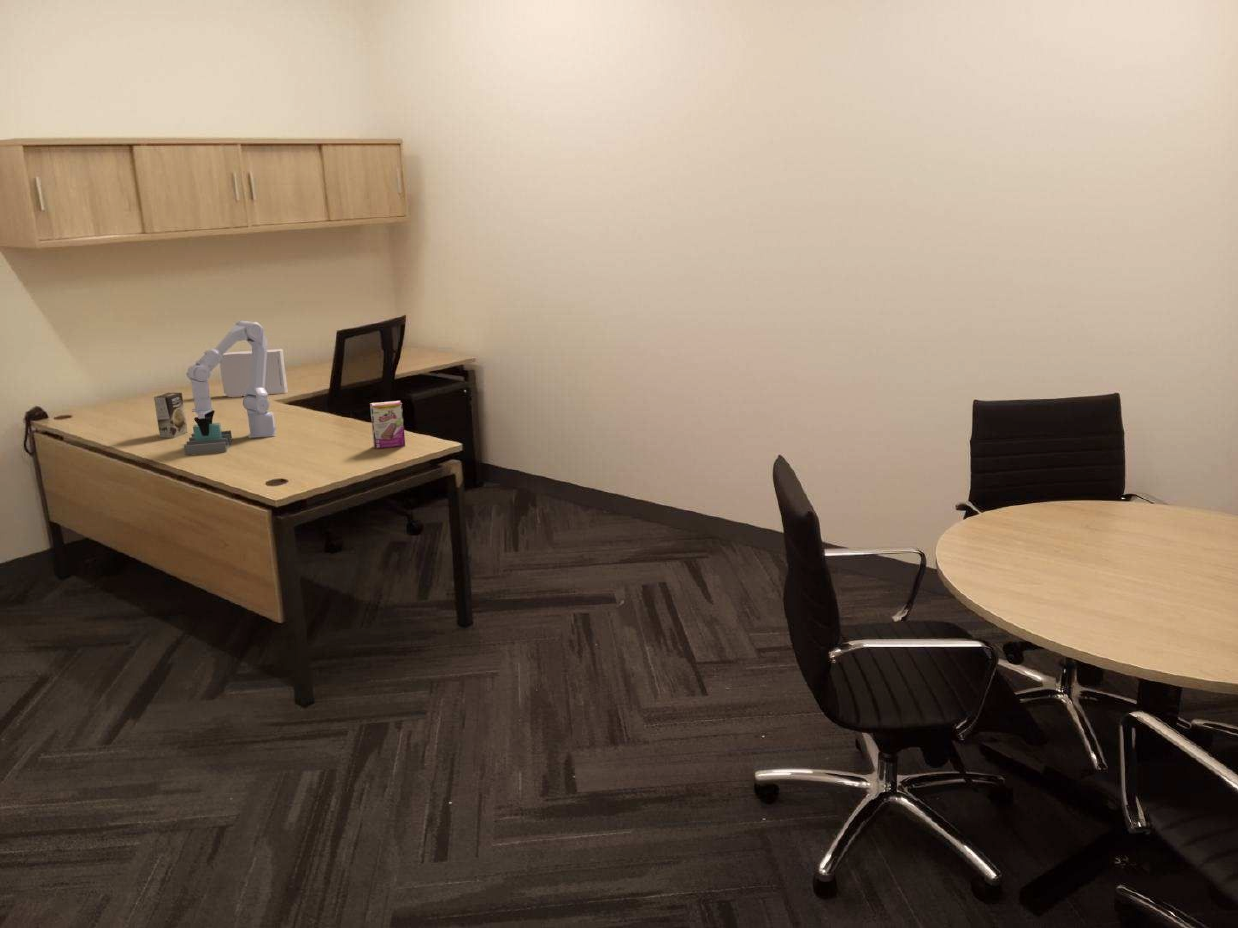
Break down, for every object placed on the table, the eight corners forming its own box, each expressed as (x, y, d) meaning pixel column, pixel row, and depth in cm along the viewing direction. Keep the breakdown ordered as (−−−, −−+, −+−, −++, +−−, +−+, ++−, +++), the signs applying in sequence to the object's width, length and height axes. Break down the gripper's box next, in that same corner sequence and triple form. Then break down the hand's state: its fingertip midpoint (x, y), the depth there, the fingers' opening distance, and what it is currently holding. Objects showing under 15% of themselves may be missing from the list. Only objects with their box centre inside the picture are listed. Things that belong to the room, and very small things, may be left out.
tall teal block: (223, 442, 362) (220, 422, 360) (221, 444, 359) (219, 425, 356) (197, 444, 360) (194, 424, 357) (195, 446, 356) (192, 427, 354)
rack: (232, 439, 370) (230, 430, 369) (226, 452, 352) (224, 442, 351) (193, 442, 366) (191, 433, 365) (185, 455, 349) (183, 446, 348)
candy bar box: (375, 449, 351) (370, 405, 346) (373, 446, 356) (369, 403, 351) (406, 446, 355) (402, 402, 350) (404, 443, 359) (400, 400, 355)
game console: (287, 393, 446) (282, 350, 440) (224, 398, 439) (218, 355, 433) (287, 391, 451) (282, 348, 445) (225, 395, 444) (219, 353, 438)
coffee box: (174, 438, 373) (167, 397, 368) (159, 437, 374) (152, 397, 369) (188, 432, 381) (182, 392, 377) (174, 431, 383) (167, 391, 378)
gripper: (193, 394, 360) (198, 429, 364) (186, 402, 346) (192, 438, 350) (213, 392, 361) (218, 427, 365) (207, 400, 348) (213, 437, 352)
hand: (207, 433), depth 358 cm, fingers open, 7 cm apart
